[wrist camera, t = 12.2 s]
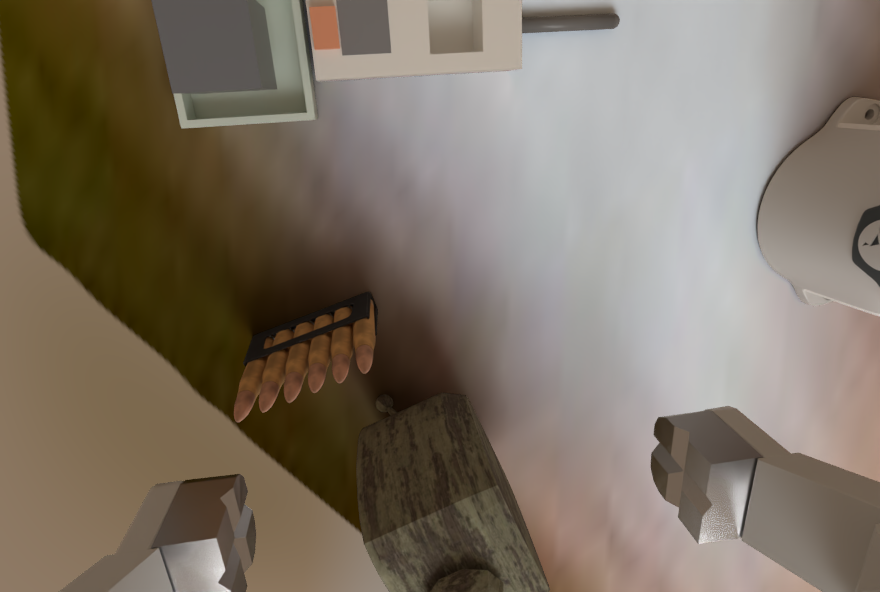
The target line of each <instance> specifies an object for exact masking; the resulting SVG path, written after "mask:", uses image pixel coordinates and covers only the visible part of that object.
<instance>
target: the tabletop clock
mask: <svg viewBox="0 0 880 592" xmlns="http://www.w3.org/2000/svg"><path fill="white" fill-rule="evenodd" d="M375 403H376V408H377V409H378V410H379V411H381V412H388V413H389V414H390V416H389V417H387V418H385V419H382V420H380V421H378V422H376V423H373V424H371V425H369V426H367V427H365V428H363V429H362V430H361V432H360V435H359V440H358V450H357V464H356V470H357V495H358V508H359V518H360V525H361V530H362V536H363V541H364V545H365V547H366V549H367V551H368V554H369V556H370V558H371V560H372V563H373V565H374V566H375V568H376V570H377V572H378V574H379V576H380V577H381V579H382V581H383V582H384V584H385V586H386V587H387V589H388V591H389V592H549V590H550V588H549V585H548V582H547V579H546V577H545V574H544V571H543V568H542V566H541V563H540V560H539V558H538V555H537V553H536V550H535V547H534V545H533V542H532V539H531V537H530V534H529V532H528V529H527V527H526V524H525V521H524V519H523V516H522V514H521V511H520V509H519V506H518V504H517V501H516V499H515V496H514V494H513V491H512V489H511V486H510V484H509V482H508V480H507V478H506V475H505V473H504V471H503V469H502V467H501V465H500V463H499V461H498V459H497V457H496V454H495V452H494V450H493V448H492V446H491V444H490V442H489V440H488V438H487V436H486V434H485V432H484V430H483V428H482V426H481V424H480V422H479V420H478V418H477V416H476V414H475V411H474V409H473V407H472V405H471V404H470V402H469V400H468V398H467V396H466V395H458V394H449V393H440V394H437V395H435V396H433V397H431V398H429V399H426V400H424V401H422V402H420V403H418V404H415V405H413V406H411V407H409V408H407V409H404V410H402V411H400V412H397V411H396V410H394V409H393V408H392V406H393V399H392V398H391V397H390V396H389V395H380V396H379V397H378V398H377V400H376V402H375Z"/></svg>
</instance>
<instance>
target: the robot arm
mask: <svg viewBox="0 0 880 592" xmlns="http://www.w3.org/2000/svg"><path fill="white" fill-rule="evenodd" d="M866 112H867V114H866V116H865V113H866ZM758 240H759V245H760V249H761V252H762V254H763V256H764V258H765V260H766V261H767V263H768V264H769V266H770V267H771V268H772V269H773V270H774V271H775V272H776V273H778V274H779V275H781V276H782V277H784V278H785V279H787V280H788V281H789V282H790V283H791V284H792V285H793V287H794V289H795V291H796V294H797V295H798V297H799V299H800V300H801V301H802V302H803V303H805V304H808V305H811V306H820V305H823V304H827V303H830V302H833V301H835V302H838V303H841V304H844V305H847V306H850V307H853V308H856V309H859V310H861V311H864V312H867V313H870V314H873V315H876V316H880V100H874V99H869V98H862V97H851V98H848V99H847V100H845V101H844V102H843V103H842V104H841V105H840V106H839V107H838V108H837V110H836V111H835V112H834V114H833V115H832V116H831V118H830V119H829V120H828V122H827V123H826V125H825V126H824V127H823V128H822V129H821V130H820V131H819V132H818V133H816V134H815V135H814V136H812V137H811V138H810V139H808V140H807V141H806V142H804V143H803V144H802V145H800V146H799V147H798V148H797V149H796V150H795V151H794V152H793V153H792V154H791V155H790V156H789V157H788V158H787V159H786V160H785V161H784V162H783V163H782V165H781V166H780V167H779V169H778V170H777V172H776V173H775V175H774V176H773V178H772V180H771V181H770V183H769V185H768V187H767V189H766V192H765V194H764V197H763V200H762V203H761V206H760V211H759V216H758ZM654 436H655V437H656V438H657V440H658V441H659V442H660V443H659V444H658V446H657V447H656V448H655V449H654V451H653V452H652V454H651V471H652V475H653V480H654V482H655V485H656V487H657V489H658V491H659V492H660V494H661V495H662V496H663V498H664V499H665V500H666V501H668V502H669V503H671V504H673V505H675V506H677V507H679V514H678V518H679V519H680V520H681V522H682V523H683V524H684V526H685V527H686V528H687V530H688V531H689V532H690V534H691V535H692V536H693V538H694V539H695V540H696V541H697V543H698V544H702V543H710V542H717V541H724V540H732V539H739V538H742V541H743V542H745V543H746V544H748V545H750V546H751V547H753V548H754V549H756V550H757V551H759V552H761V553H762V554H764V555H765V556H767V557H768V558H770V559H772V560H773V561H775V562H776V563H778V564H780V565H781V566H783V567H784V568H786V569H787V570H789V571H791V572H792V573H794V574H795V575H797V576H798V577H800V578H802V579H803V580H805V581H806V582H808V583H809V584H811V585H813V586H814V587H816V588H817V589H819V590H821V591H822V592H880V482H877V481H875V480H872V479H869V478H866V477H864V476H861V475H858V474H855V473H853V472H850V471H847V470H844V469H842V468H839V467H836V466H834V465H831V464H828V463H825V462H823V461H820V460H817V459H814V458H812V457H809V456H806V455H803V454H801V453H792V454H791V453H790V452H788V451H787V450H786V449H785V448H783V447H782V446H781V445H780V444H779V443H777V442H776V441H775V440H774V439H773V438H771V437H770V436H769V435H768V434H767V433H765V432H764V431H763V430H762V429H760V428H759V427H758V426H757V425H756V424H754V423H753V422H752V421H751V420H750V419H748V418H747V417H746V416H745V415H744V414H742V413H741V412H740V411H739V410H737V409H736V408H733V407H730V406H725V407H719V408H713V409H707V410H705V411H699V412H692V413H685V414H678V415H671V416H664V417H658V419H657V421H656V423H655V427H654ZM247 492H248V491H247V487H246V484H245V480H244V477H243V476H242V475H240V474H235V475H226V476H218V477H209V478H201V479H192V480H185V481H177V482H168V483H161V484H156V485H155V486H153V487H152V488H151V489H150V490H149V492H148V494H147V496H146V497H145V499H144V501H143V503H142V505H141V507H140V509H139V511H138V512H137V514H136V516H135V518H134V520H133V522H132V523H131V525H130V527H129V529H128V531H127V533H126V534H125V536H124V538H123V540H122V542H121V544H120V546H119V548H118V549H117V551H116V553H115V554H114V555H107V556H105V557H103V558H102V559H101V560H99V561H98V562H97V563H95V564H94V565H93V566H92V567H90V568H89V569H88V570H86V571H85V572H84V573H82V574H81V575H80V576H79V577H77V578H76V579H75V580H73V581H72V582H71V583H69V584H68V585H67V586H66V587H64V588H63V589H62V590H60V591H59V592H246V589H247V583H246V579H245V575H244V572H245V571H246V570H247V569H248V568H249V567H250V566H251V565H252V562H253V558H254V553H255V543H256V530H255V520H254V516H253V511H252V510H251V509H250V508H248V507H247V506H246V505H244V503H245V500H246V496H247Z"/></svg>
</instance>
